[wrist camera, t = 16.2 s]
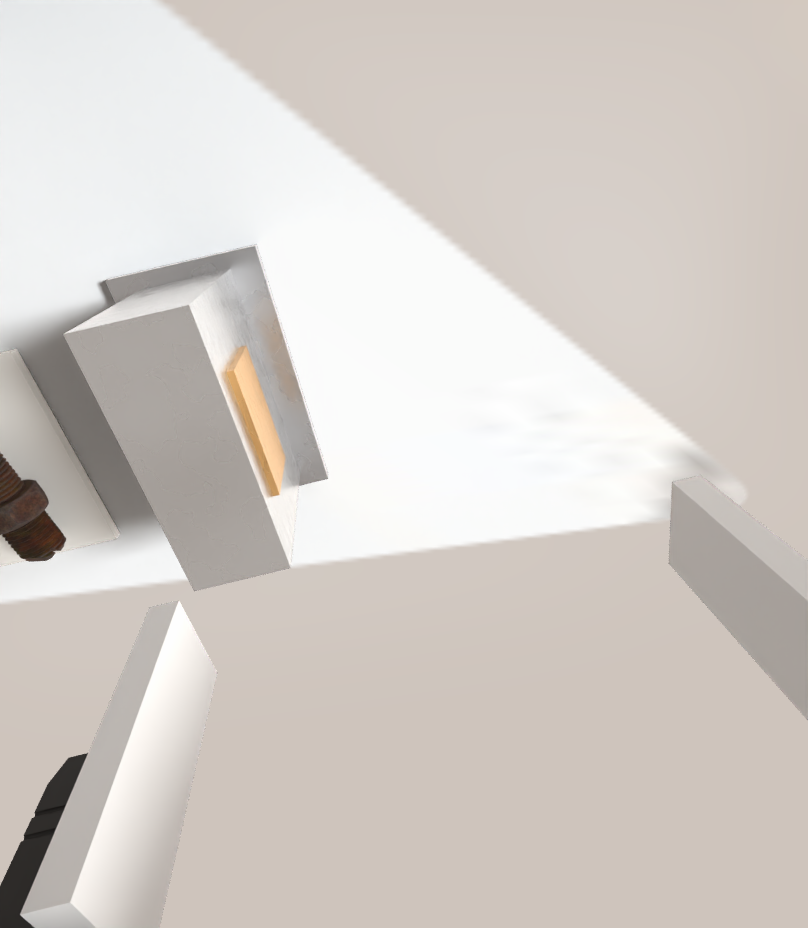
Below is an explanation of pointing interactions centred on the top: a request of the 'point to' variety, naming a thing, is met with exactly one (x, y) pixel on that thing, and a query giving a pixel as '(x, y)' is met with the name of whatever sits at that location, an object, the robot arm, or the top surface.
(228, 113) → the top surface
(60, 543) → the bolt
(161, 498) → the block
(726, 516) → the robot arm
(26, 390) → the mat
